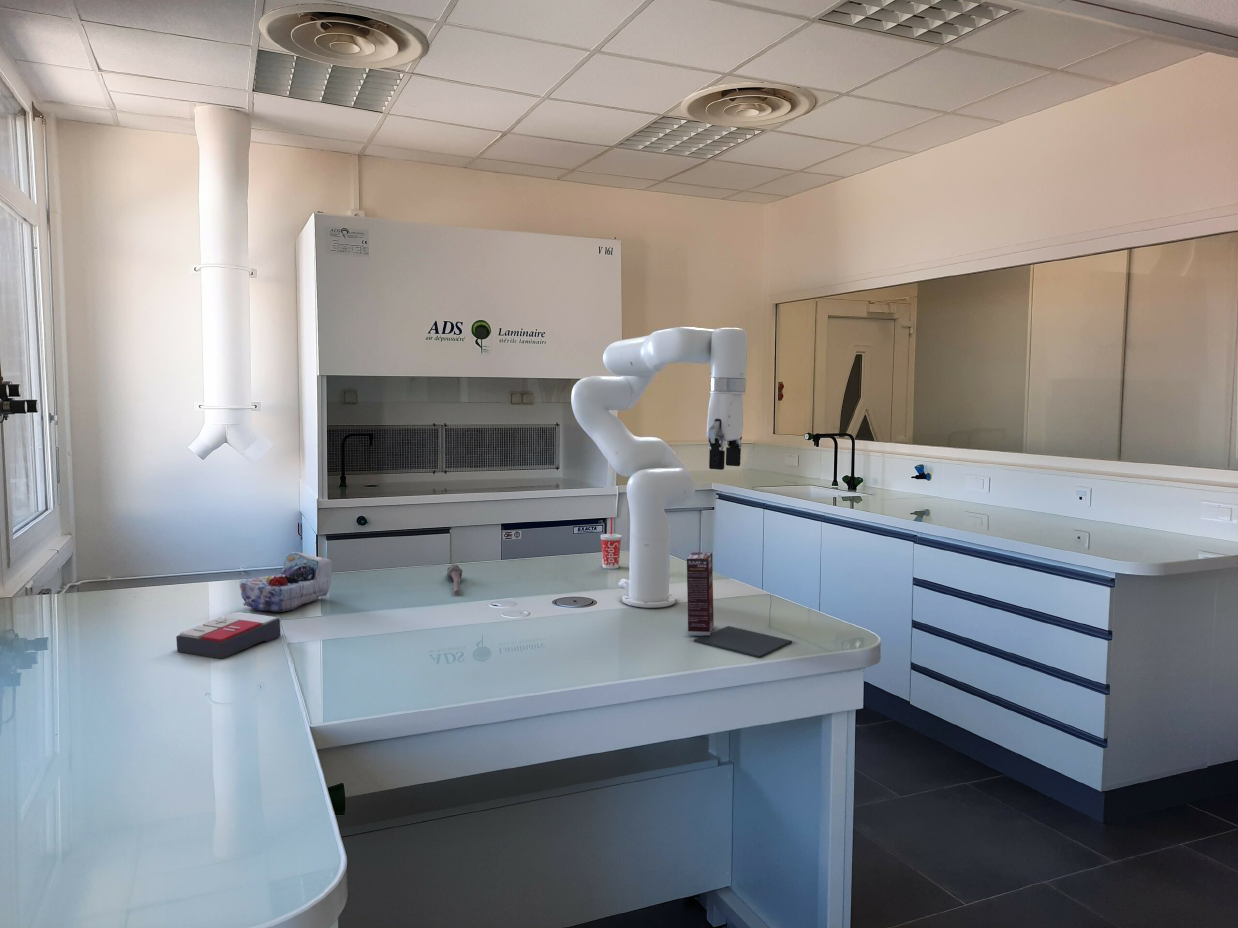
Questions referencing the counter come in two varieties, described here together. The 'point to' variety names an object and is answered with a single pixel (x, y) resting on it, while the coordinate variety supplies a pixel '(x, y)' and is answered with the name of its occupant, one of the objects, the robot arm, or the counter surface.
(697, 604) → the supplement box
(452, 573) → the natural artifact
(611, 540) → the beverage cup
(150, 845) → the counter surface
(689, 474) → the robot arm
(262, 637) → the calculator
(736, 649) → the mat
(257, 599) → the toy bassinet
